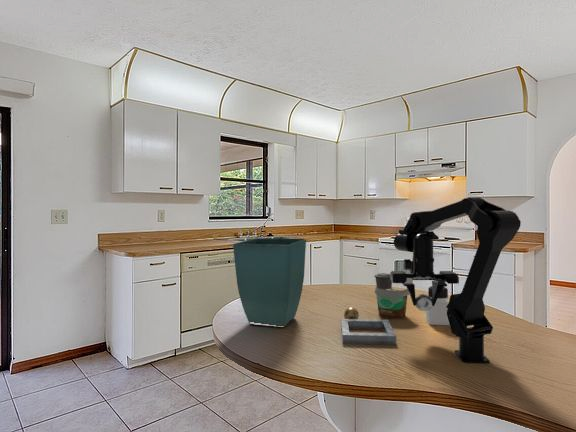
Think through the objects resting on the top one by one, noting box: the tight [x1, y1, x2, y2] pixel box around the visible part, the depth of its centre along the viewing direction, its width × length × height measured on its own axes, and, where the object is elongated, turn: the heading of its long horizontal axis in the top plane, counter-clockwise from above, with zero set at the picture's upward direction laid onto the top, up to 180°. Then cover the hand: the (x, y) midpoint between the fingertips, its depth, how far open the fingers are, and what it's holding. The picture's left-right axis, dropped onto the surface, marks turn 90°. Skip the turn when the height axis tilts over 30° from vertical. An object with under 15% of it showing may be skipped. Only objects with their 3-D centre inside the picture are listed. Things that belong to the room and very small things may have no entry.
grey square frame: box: [340, 318, 397, 346], centre depth 110 cm, size 15×15×2 cm
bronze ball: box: [343, 307, 360, 319], centre depth 123 cm, size 5×5×5 cm
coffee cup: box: [374, 272, 393, 289], centre depth 156 cm, size 8×8×10 cm
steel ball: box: [415, 293, 433, 312], centre depth 108 cm, size 5×5×5 cm
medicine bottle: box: [424, 285, 450, 327], centre depth 121 cm, size 7×7×12 cm
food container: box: [373, 286, 410, 320], centre depth 128 cm, size 12×6×10 cm, turn 62°
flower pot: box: [232, 237, 307, 327], centre depth 125 cm, size 20×20×28 cm
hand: (423, 305), depth 108 cm, fingers closed on steel ball, 5 cm apart
